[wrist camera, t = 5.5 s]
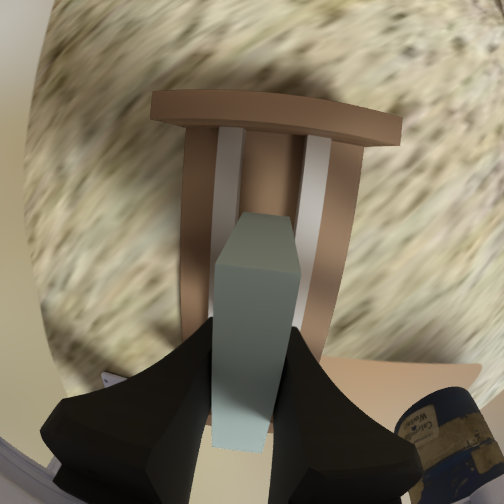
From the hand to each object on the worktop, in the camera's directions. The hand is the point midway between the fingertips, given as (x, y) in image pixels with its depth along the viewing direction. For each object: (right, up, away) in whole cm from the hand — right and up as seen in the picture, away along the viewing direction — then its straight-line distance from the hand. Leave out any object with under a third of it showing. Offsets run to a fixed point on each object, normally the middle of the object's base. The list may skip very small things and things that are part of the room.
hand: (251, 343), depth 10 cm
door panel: (0, +1, +3) cm, 3 cm away
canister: (+19, -14, +12) cm, 26 cm away
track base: (+1, +3, +8) cm, 8 cm away
